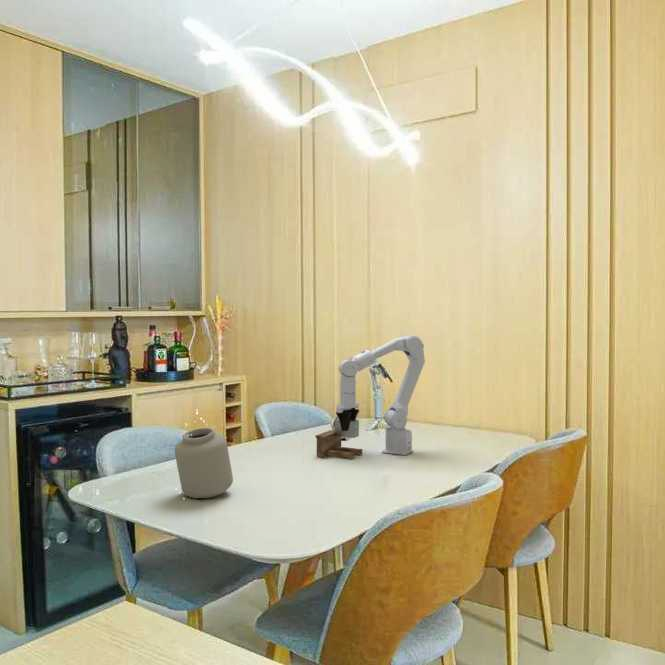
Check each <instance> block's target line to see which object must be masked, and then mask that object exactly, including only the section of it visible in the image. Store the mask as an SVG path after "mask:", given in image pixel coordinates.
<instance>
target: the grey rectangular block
mask: <svg viewBox="0 0 665 665" xmlns="http://www.w3.org/2000/svg"><path fill="white" fill-rule="evenodd" d="M335 436H340V437H349V438H350V439H355V438H357V437H359V436H360V419H349V426H348V431H342V429H341V425H340V421H339V418H338V419H335Z"/></svg>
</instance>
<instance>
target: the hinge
mask: <svg viewBox="0 0 665 665" xmlns="http://www.w3.org/2000/svg"><path fill="white" fill-rule="evenodd" d="M335 419H338V416H337V415H336V417H333V419H332V420H331V423H330V426H331V430H332V429H335ZM342 439H345V441H346V442H348V441H349V440H351V438H349V437H341V440H342Z"/></svg>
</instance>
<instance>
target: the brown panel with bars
mask: <svg viewBox="0 0 665 665" xmlns="http://www.w3.org/2000/svg"><path fill="white" fill-rule="evenodd" d="M315 439H316V458H320V457H321V458H322V459H325V458H327V457H328V456H329V458H336V459H337V458H338V459H347V460H354V459H355V456H363V449H361V448H357V447H356V448H353V447H346V446H342V439H341V437H340V436H335V429H332V428H331V429H329V430H328V431H325V432H322V433H319V434H316V435H315Z"/></svg>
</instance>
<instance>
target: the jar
mask: <svg viewBox="0 0 665 665" xmlns="http://www.w3.org/2000/svg"><path fill="white" fill-rule="evenodd" d="M198 411H199V410H198V409H196V415H198V414H199V412H198ZM199 420H202V422H203V423H205V419H203V418H202V417H200V418H199ZM194 423H196V420H195V421H194ZM184 425H186V427H188V424H187V423H186V422H185V423H184ZM207 425H208V423H206V426H207ZM214 428H216V426H214ZM214 428H213V427H200V428H195V429H190V430H188V431H186V432H185V433H184V434H183V435H182V439H181V440H179V442H177V443H176V445H175V447H174V454H175V455H174V456H175V459H176V460H175V461H176V466H177V472H178V477H179V481H180V487H181V491H182V493H183V494H184V495H185V496H186V497H188V496H189V497H188V498H191V497H193V498H192V499H195V498H205V499H210V498H213V497H217V496H218V495H219V496H220V495H221V494H223V493H225V492H226V491H227V490H229V489H230V488H231V486H232V484H233V482H234V476H233V471H232V464H231V459H230V458H231V457H230V454H229V448H228V441H227V438H226V437H225V436H224V435H223V434H221V433H219V432H215V429H214ZM175 490H177V488H175ZM181 491H179V494H181ZM182 499H183V500H185V498H184V497H183V498H182Z"/></svg>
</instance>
